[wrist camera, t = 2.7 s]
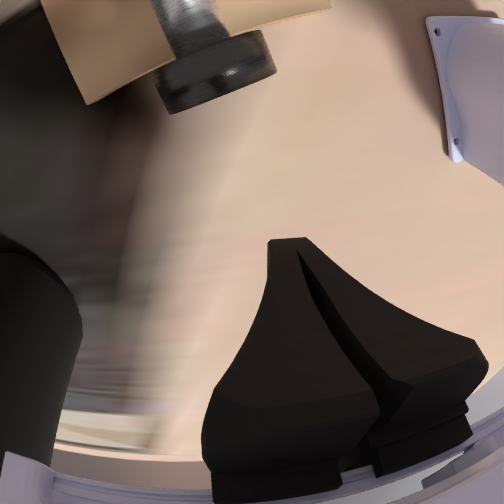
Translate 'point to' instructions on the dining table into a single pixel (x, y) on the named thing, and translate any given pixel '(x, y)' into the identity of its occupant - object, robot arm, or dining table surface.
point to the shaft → (205, 55)
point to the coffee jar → (34, 355)
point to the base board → (141, 35)
